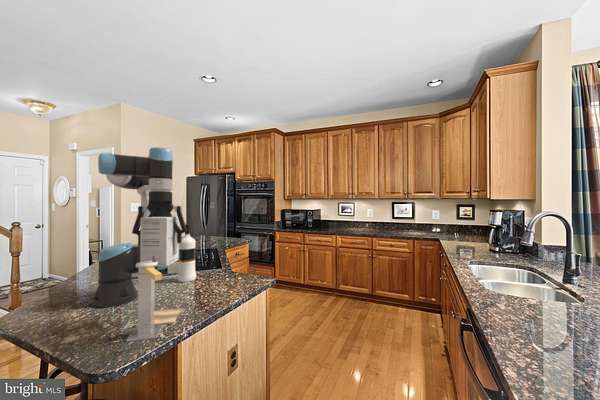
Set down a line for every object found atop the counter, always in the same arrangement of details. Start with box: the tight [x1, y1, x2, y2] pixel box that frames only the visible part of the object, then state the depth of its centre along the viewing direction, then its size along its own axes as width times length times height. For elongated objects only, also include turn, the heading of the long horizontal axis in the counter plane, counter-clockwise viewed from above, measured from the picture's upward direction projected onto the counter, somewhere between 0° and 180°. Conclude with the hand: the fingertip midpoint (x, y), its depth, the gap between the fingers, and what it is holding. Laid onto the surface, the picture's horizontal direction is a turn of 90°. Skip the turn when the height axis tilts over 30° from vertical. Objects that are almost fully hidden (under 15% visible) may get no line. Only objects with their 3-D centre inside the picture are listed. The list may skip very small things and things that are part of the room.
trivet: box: [134, 307, 182, 329], centre depth 91 cm, size 12×12×1 cm
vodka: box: [176, 223, 197, 283], centre depth 137 cm, size 9×9×30 cm
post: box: [126, 273, 165, 343], centre depth 81 cm, size 8×8×19 cm
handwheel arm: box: [136, 255, 163, 282], centre depth 77 cm, size 6×16×5 cm, turn 43°
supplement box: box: [139, 215, 180, 266], centre depth 92 cm, size 10×9×17 cm
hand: (160, 252), depth 92 cm, fingers closed on supplement box, 10 cm apart
